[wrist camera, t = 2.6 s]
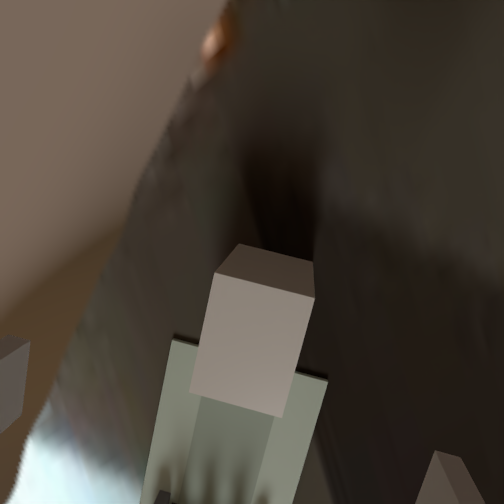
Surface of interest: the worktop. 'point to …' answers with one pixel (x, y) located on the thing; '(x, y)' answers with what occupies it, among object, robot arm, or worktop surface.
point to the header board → (226, 442)
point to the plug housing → (254, 329)
